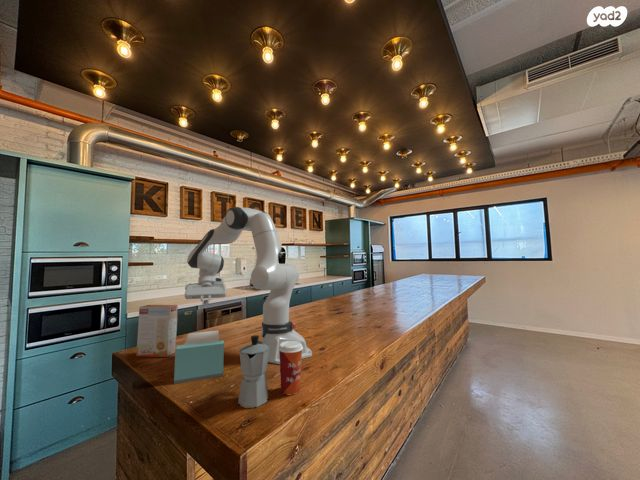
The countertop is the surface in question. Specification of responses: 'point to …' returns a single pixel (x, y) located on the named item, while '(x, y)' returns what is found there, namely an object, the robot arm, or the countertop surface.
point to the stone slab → (202, 337)
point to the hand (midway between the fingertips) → (205, 303)
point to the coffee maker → (253, 373)
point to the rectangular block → (198, 361)
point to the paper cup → (290, 366)
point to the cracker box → (157, 330)
